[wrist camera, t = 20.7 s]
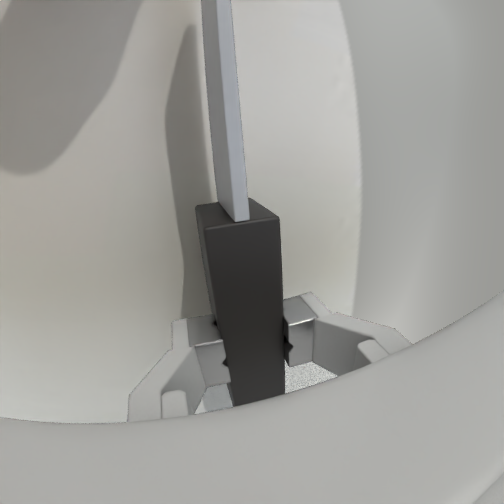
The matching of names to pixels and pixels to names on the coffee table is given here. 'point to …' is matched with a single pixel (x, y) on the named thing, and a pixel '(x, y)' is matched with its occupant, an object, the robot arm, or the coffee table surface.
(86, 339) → the coffee table surface
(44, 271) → the coffee table surface
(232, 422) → the robot arm
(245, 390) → the knife
